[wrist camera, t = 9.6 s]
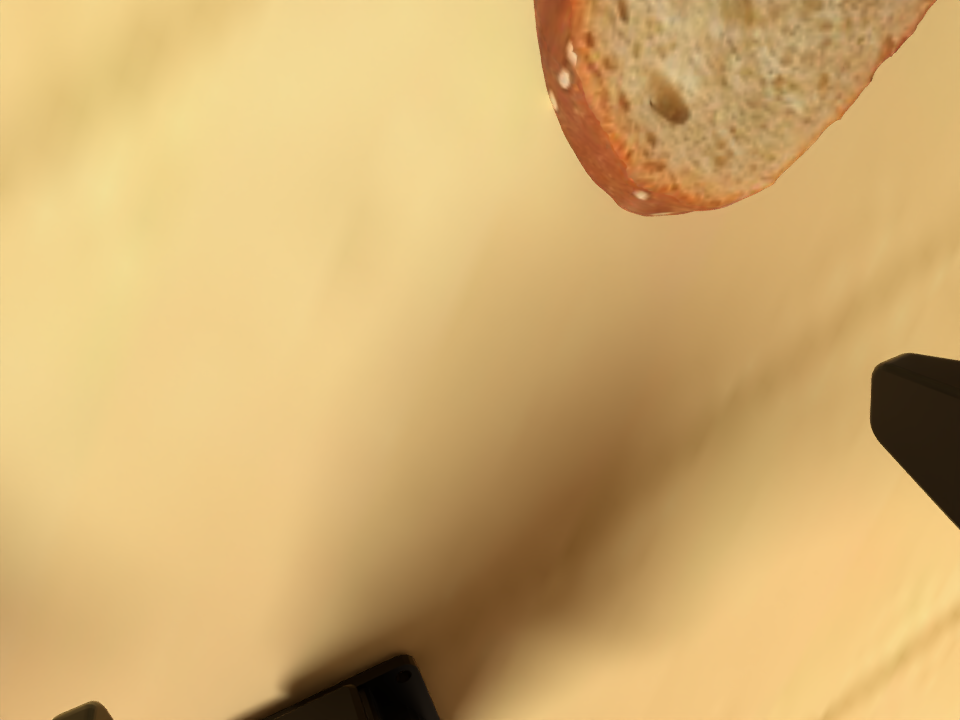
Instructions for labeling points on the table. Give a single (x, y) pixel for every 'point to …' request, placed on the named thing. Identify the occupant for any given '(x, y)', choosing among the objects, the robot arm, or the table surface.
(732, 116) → the slice of bread
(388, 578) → the table surface
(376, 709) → the robot arm
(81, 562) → the table surface
